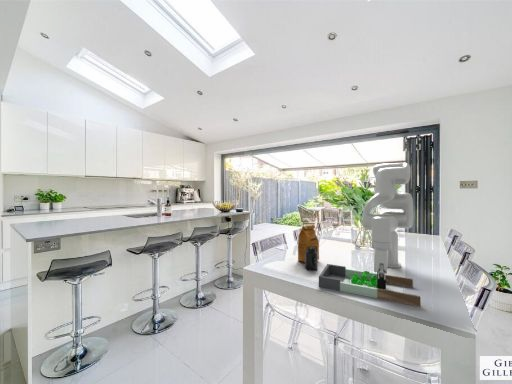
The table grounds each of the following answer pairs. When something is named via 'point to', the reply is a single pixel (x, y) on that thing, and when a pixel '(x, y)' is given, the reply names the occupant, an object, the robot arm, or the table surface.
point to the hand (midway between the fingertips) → (381, 284)
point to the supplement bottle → (311, 258)
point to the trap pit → (332, 277)
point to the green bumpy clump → (364, 280)
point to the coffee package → (307, 241)
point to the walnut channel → (399, 296)
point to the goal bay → (358, 288)
